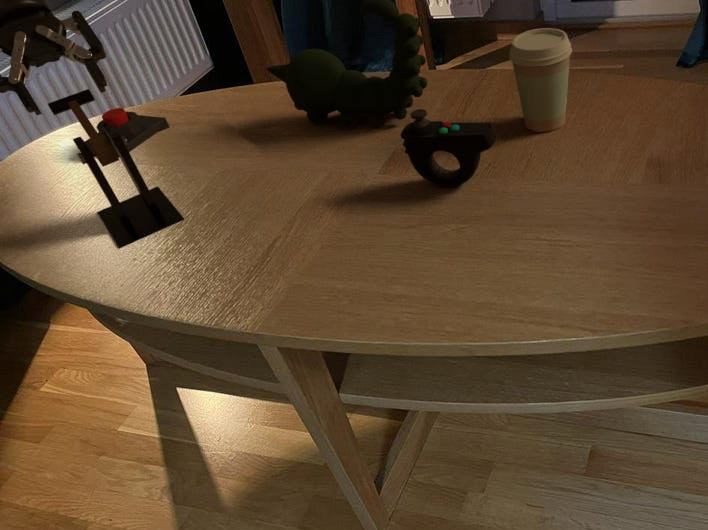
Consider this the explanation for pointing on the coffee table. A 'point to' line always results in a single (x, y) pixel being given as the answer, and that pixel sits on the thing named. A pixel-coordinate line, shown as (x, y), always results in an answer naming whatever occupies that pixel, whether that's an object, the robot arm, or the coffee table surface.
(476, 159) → the controller
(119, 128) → the button block
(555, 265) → the coffee table surface
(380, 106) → the toy figurine
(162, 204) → the bracket
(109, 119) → the button
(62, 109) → the lever
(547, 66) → the coffee cup
